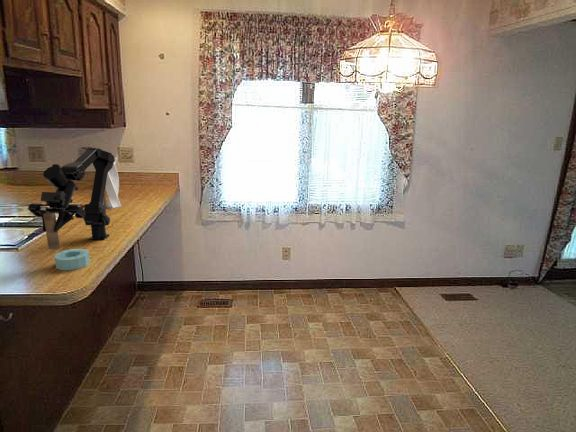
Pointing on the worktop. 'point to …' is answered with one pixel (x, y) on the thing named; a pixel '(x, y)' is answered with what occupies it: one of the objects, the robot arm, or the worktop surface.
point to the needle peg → (51, 230)
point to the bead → (72, 259)
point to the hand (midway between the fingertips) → (49, 231)
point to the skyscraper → (112, 189)
